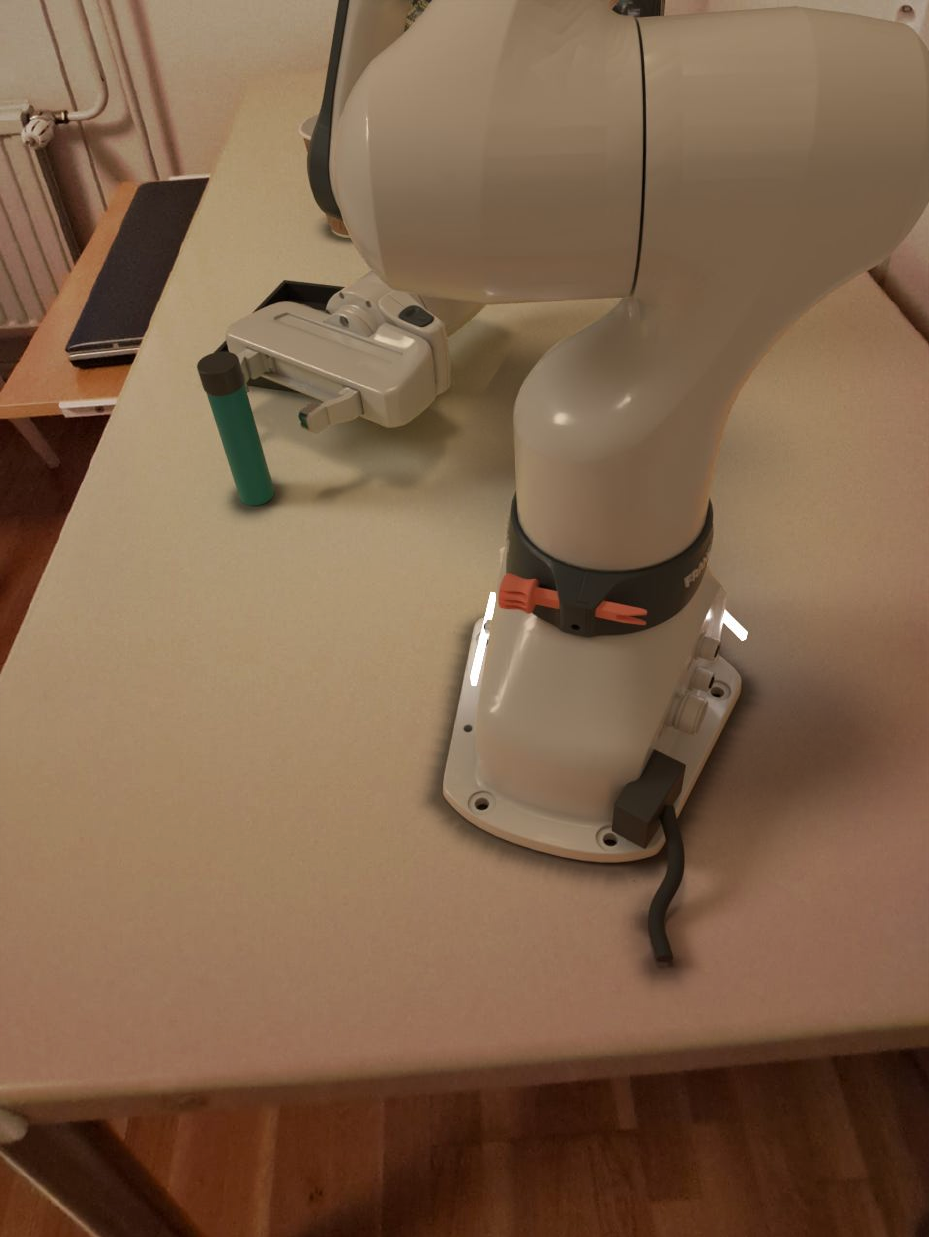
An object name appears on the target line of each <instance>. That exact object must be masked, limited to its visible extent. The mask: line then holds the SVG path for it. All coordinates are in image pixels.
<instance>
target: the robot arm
mask: <svg viewBox="0 0 929 1237" xmlns="http://www.w3.org/2000/svg"><path fill="white" fill-rule="evenodd" d="M413 1H414V0H338V1H337V8H336V14H335V21H334V27H333V33H332V40H331V45H330V53H329V59H328V66H327V71H326V78H325V83H324V91H323V97H322V101H321V106H320V109H319V112H318V113H319V116H318V119H317V122H316V124H315V127H314V130H313V133H312V136H311V140H310V143H309V148H308V153H307V152H306V153H307V154H306V171H307V178H308V182H309V183H308V184H309V187H310V191H311V193H312V196H313V198H314V201H315V203H316V205H317V207H318V208H319V209H320V211H322V212H323V213H324V214H325V215H326V214H327V215H329V216H331V217H333V218H336V219H338V220H340V221H342V222H344V224H345V227H346V229H347V231H348V233H349V236H350V238H349V239H350V240H351V242H352V243H353V245H354V248H355V249H356V251H357V252H358V254H359V255H360V257H361V258H362V260H363V261H364V262H365V264H366V265H367V267H368V268H369V269H370V271H368V272H366V273H365V274H364V275H362V276H360V277H359V278H358V279H356V280H354V281H353V282H351V283H349V284H348V285H346V286H344V287H345V288H343V289H342V290H340V291H339V292H337V293H336V294H334V295H333V296H332V297H331V298H330V300H329V302H328V304H327V307H326V312H325V311H322V310H316V309H313V308H311V307H310V306H308V305H304V304H298V303H295V302H288V301H285V302H278V303H275V304H272V305H269V306H267V307H264V308H262V309H260V310H258V311H256V312H254V311H253V312H254V313H253V312H251V313H249V314H248V315H245V316H244V317H241V318H240V319H238V320H236V321H235V322H232V323H231V324H230V325H229V326H228V327H227V329H226V332H225V340H226V342H227V345H228V349H229V352H231V353H234V354H235V355H237V357H238V358H239V362H240V365H241V369H242V372H243V376H244V380H245V382H244V384H245V388H246V391H247V394H248V393H249V392H250V389H249V387H248V386H249V385H247V384H246V383H247V381H248V380H249V378H250V377H251V378H252V379H256V378H258V377H259V376H261V377H264V378H266V379H269V380H271V381H274V382H276V383H279V384H281V385H284V386H286V387H289V388H291V389H293V390H296V391H298V392H301V393H300V394H304V395H306V396H309V397H311V398H313V399H316V400H318V401H321V403H318V402H315V401H311V402H309V403H308V404H307V405H306V407H303V408H301V409H299V411H298V416H297V417H298V420H299V425H300V428H301V429H303V430H305V431H308V432H310V433H313V434H314V435H317V434H319V433H321V432H322V431H323V430H325V429H326V428H327V427H328V426H334V425H339V424H343V423H347V422H352V421H355V419H357V418H358V417H360V418H363V419H365V420H368V421H370V422H373V423H375V424H377V425H380V426H383V427H384V428H388V429H390V428H398V427H403V426H406V425H407V424H409V423H410V422H412V421H413V420H414V419H416V418H417V417H418V416H419V415H421V414H422V413H423V412H424V411H425V410H427V409H428V407H430V406H431V405H432V403H433V402H434V401H435V400H436V398H437V396H438V395H441V394H443V393H445V392H446V391H447V390H449V388H450V387H451V381H452V380H451V378H452V375H451V372H452V371H451V357H450V347H449V340H448V338H450V337H451V336H453V335H454V334H456V333H457V332H458V331H459V330H460V329H462V328H463V327H465V325H467V324H468V323H469V322H470V321H472V320H473V319H474V318H475V317H476V316H477V315H478V314H479V313H480V312H481V311H482V310H483V309H484V308H485V307H486V306H489V305H490V306H491V305H509V304H530V303H547V302H567V301H568V302H570V301H589V300H610V299H620V300H618V302H617V303H616V304H615V305H614V306H613V307H612V308H611V309H610V310H609V311H607V312H606V313H605V314H604V315H602V316H600V317H599V318H598V319H596V320H595V321H593V322H591V323H590V324H588V325H586V326H584V327H582V328H580V329H579V330H576V331H574V332H573V333H571V334H569V335H568V336H566V337H564V338H563V339H561V340H559V341H558V342H557V343H555V344H554V345H552V346H551V347H550V348H549V349H548V350H547V351H546V352H545V353H544V354H543V356H542V357H541V358H540V359H539V360H538V361H537V362H536V364H535V365H534V366H533V367H532V369H531V370H530V372H528V375H527V376H526V377H525V379H524V380H523V382H522V384H521V386H520V388H519V390H518V393H517V395H516V398H515V400H514V401H515V402H514V405H513V412H512V413H513V414H512V418H513V419H512V422H513V423H512V424H513V425H512V426H513V447H514V448H513V450H514V472H515V473H514V474H515V492H514V494H513V497H512V500H511V505H510V506H511V507H510V511H509V512H510V513H509V517H508V522H507V528H506V539H505V540H506V542H505V546H502V547H500V549H499V560H500V561H499V562H500V572H499V577H498V582H497V586H496V592H492V591H490V594H489V598H488V602H487V606H486V611H485V615H484V616H483V617H481V618H479V619H478V620H477V621H476V622H475V623H474V626H473V630H472V635H471V640H470V645H469V649H468V655H467V659H466V665H465V670H464V674H463V680H462V683H461V684H462V685H461V690H460V695H459V700H458V705H457V709H456V715H455V719H454V725H453V729H452V734H451V739H450V744H449V748H448V749H449V750H448V755H447V760H446V764H445V769H444V776H443V781H442V782H443V783H442V794H443V797H444V799H445V800H446V801H447V802H448V804H449V805H450V806H451V807H452V808H453V809H454V810H455V811H456V812H457V813H458V814H459V815H460V816H462V817H463V818H464V819H465V820H467V821H468V822H470V824H471V823H472V824H473V825H475V826H476V827H478V829H481V830H483V831H485V832H487V833H489V834H491V835H493V836H495V837H498V838H500V839H503V840H505V841H507V842H510V843H511V844H515V845H519V846H521V847H525V848H527V849H530V850H533V851H536V852H541V853H544V854H549V855H552V856H557V857H561V858H566V859H572V860H578V861H583V862H594V863H624V862H626V863H627V862H633V861H639V860H644V859H647V858H651V857H654V856H656V855H657V854H659V853H660V851H661V850H662V848H663V847H664V845H665V844H666V848H667V849H666V850H667V867H666V872H665V875H664V877H663V880H662V881H661V883H660V886H659V887H658V889H657V890H656V892H655V894H654V896H653V897H652V900H651V903H650V905H649V909H648V916H647V929H648V936H649V938H650V942H651V945H652V949H653V951H654V955H655V960H656V962H659V963H667V962H671V961H673V959H674V956H673V955H674V954H673V951H672V947H671V944H670V942H669V939H668V936H667V932H666V925H665V923H666V916H667V911H668V909H669V907H670V904H671V903H672V900H673V899H674V897H675V895H676V894H677V892H678V890H679V888H680V886H681V883H682V881H683V877H684V874H685V864H686V860H685V858H686V856H685V854H686V853H685V846H684V841H683V836H682V833H681V828H680V825H679V822H678V818H679V817H680V814H681V812H682V810H683V808H684V806H685V804H686V803H687V800H688V798H689V796H690V795H691V793H692V791H693V789H694V786H695V785H696V782H697V781H698V778H699V777H700V774H701V773H702V770H703V769H704V767H705V764H706V763H707V760H708V759H709V756H710V755H711V753H712V751H713V749H714V747H715V745H716V743H717V741H718V740H719V737H720V735H721V733H722V731H723V729H724V728H725V725H726V724H727V721H728V719H729V717H730V715H731V714H732V712H733V709H734V708H735V705H736V704H737V701H738V700H739V698H740V695H741V693H742V677H741V675H740V673H739V671H737V669H736V668H735V667H734V666H733V665H732V664H731V663H729V661H727V660H726V659H725V658H724V657H722V656H721V655H720V654H719V652H720V648H721V645H722V641H721V639H722V632H723V626H724V624H725V625H726V627H727V628H729V629H730V630H731V631H732V632H733V633H734V634H735V635H736V637H738V638H739V639H740V640H741V641H745V640H747V636H748V631H747V630H746V629H745V628H744V627H743V626H742V625H741V624H740V623H739V622H738V621H737V620H736V619H735V618H734V617H733V616H732V615H731V614H730V613H729V612H728V611H727V610H726V604H727V598H728V592H727V591H726V589H724V587H723V584H722V583H721V582H720V581H719V580H718V579H717V577H716V576H715V575H714V574H713V572H712V570H711V569H710V567H709V565H708V562H709V556H710V554H711V552H712V547H713V541H714V540H713V539H714V533H715V531H714V529H715V528H714V509H713V503H712V500H711V497H710V496H711V491H712V484H713V481H714V475H715V471H716V466H717V462H718V458H719V453H720V449H721V445H722V441H723V437H724V435H725V434H724V433H725V430H726V426H727V422H728V419H729V416H730V414H731V411H732V409H733V407H734V405H735V402H736V401H737V399H738V397H739V395H740V393H741V391H742V390H743V388H744V386H745V385H746V383H747V382H748V380H749V379H750V378H751V375H752V374H753V373H754V371H755V370H756V369H757V368H758V366H759V365H760V363H761V362H762V361H763V359H764V358H765V357H766V356H767V355H768V353H769V352H770V351H771V350H772V349H773V347H774V346H775V345H776V344H777V343H778V342H779V341H780V340H781V339H782V338H783V336H785V334H786V333H788V332H789V330H790V329H791V328H792V327H794V326H795V324H797V322H799V321H800V320H801V319H802V318H803V317H805V315H806V314H808V313H809V312H810V311H811V310H812V309H814V307H816V306H817V305H819V304H820V303H821V302H822V301H823V300H825V299H826V298H827V297H829V296H830V295H831V294H833V293H834V292H836V291H837V290H839V289H840V288H842V287H843V286H844V285H847V284H848V283H849V282H851V281H852V280H854V279H856V278H857V277H859V276H861V275H863V274H864V273H866V272H869V271H870V270H872V269H874V268H875V267H877V266H879V265H881V263H883V262H884V261H886V260H887V259H888V258H889V257H890V256H891V255H892V254H893V253H894V252H895V251H896V250H897V249H898V247H899V246H900V245H901V244H902V243H903V242H904V241H905V239H906V238H908V236H909V234H910V233H912V230H913V229H914V228H915V226H916V225H917V224H918V222H919V220H920V219H921V217H922V215H923V214H924V212H925V211H926V208H927V207H928V204H929V49H928V47H927V45H926V44H925V42H924V41H923V40H922V38H921V37H920V36H919V34H917V32H916V30H915V29H914V28H912V27H911V26H910V25H908V24H906V23H903V22H900V21H899V22H898V21H892V20H887V19H883V18H877V17H872V16H867V15H862V14H856V13H850V12H843V11H842V12H841V11H835V10H829V9H828V10H827V9H820V8H813V7H805V6H797V5H793V6H792V5H791V6H780V7H779V6H778V7H777V6H776V7H765V8H763V7H762V8H750V9H749V8H748V9H737V10H724V11H723V10H722V11H710V12H708V11H707V12H696V13H682V14H681V13H680V14H669V15H667V14H666V15H664V16H652V17H639V18H634V16H632V15H628V16H626V15H620V14H618V13H616V12H614V11H613V10H612V8H613V7H614V6H615V5H616V3H617V2H618V1H619V0H432V1H431V2H430V4H429V5H428V6H427V8H426V9H425V10H424V12H423V13H422V14H421V15H420V16H419V17H418V18H417V20H416V21H415V22H414V23H413V24H412V25H411V26H410V27H409V29H408V30H407V31H406V32H405V33H404V29H405V25H406V20H407V16H408V12H409V9H410V7H411V5H412V3H413ZM714 695H719V696H718V697H717V696H714ZM480 805H485V806H487V808H485V809H478V807H479V806H480ZM606 840H611V841H614V842H615V844H613V845H609V844H606V843H605V841H606Z"/></svg>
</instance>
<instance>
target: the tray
mask: <svg viewBox="0 0 929 1237" xmlns="http://www.w3.org/2000/svg"><path fill="white" fill-rule="evenodd" d="M345 287H346V286H339V285H331V284H324V283H323V284H322V283H313V282H307V281H306V282H304V281H297V280H289V279H283V280H282V282H280V283H279V285H277V287H275V289H274V290H273V291H272V292H271V293H270V294H269V295H268V296H267V297H266V298H264V300H263V301H262V302H261V303H260V304H259V305H258V306H257V307H255V308H256V309H254V310H253V311H252V313H254V312H256V311H258V310H260V309H262V308H264V307H267V306H269V305H272V304H275V303H278V302H285V301H288V302H295V303H298V304H304V305H308V306H310V307H311V308H313V309H316V310H322V311H325V312H326V307H327V304H328V302H329V300H330V298H331V297H332V296H333V295H334V294H336V293H337V292H339V291H340V290H342V289H343V288H345ZM215 352H229V349H228V345H227V342H226V339H225V341H223V342H222V344H221V345H220V346H219V347H217V348H216V350H214V351H213V353H215ZM246 384H247V386H252V387H259V388H265V389H271V390H278V391H285V392H290V393H291V392H292V393H298V394H302V393H301V392H298V391H296V390H293V389H291V388H289V387H286V386H284V385H281V384H279V383H276V382H274V381H271V380H269V379H266V378H264V377H261V376H259V377H258V378H256V379H252V378H251V377H250V378H249V380H248V381H247V383H246Z"/></svg>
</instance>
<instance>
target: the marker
mask: <svg viewBox="0 0 929 1237" xmlns="http://www.w3.org/2000/svg"><path fill="white" fill-rule="evenodd" d="M214 352H215V351H214ZM214 352H212V353H209V354H206V355H205V356H203V357H202V358H200V359H199V361H198V362H197V364H196V369H197V373H198V375H199V379H200V381H201V385H202V388H203V390H204V393H206V396H207V399H208V402H209V405H210V409H211V411H212V415H213V418H214V422H215V424H216V428H217V431H218V434H219V437H220V440H221V443H222V446H223V450H224V453H225V456H226V459H227V462H228V465H229V468H230V472H231V475H232V478H233V481H234V484H235V487H236V488H235V489H236V491H237V493H238V497H239V501H241V503H243V504H244V505H246V506H251V507H256V506H261V505H263V504H266V503H268V502H269V501H271V500H272V498H274V495H275V488H274V484H273V480H272V477H271V473H270V470H269V467H268V462H267V459H266V456H265V453H264V448H263V445H262V441H261V438H260V435H259V431H258V427H257V423H256V420H255V417H254V412H253V409H252V406H251V403H250V402H251V401H250V398H249V396H248V393H247V391H246V388H245V384H244V382H245V380H244V376H243V372H242V369H241V365H240V362H239V358H238V357H237V355H235V354H234V353H231V352H215V353H214Z"/></svg>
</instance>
